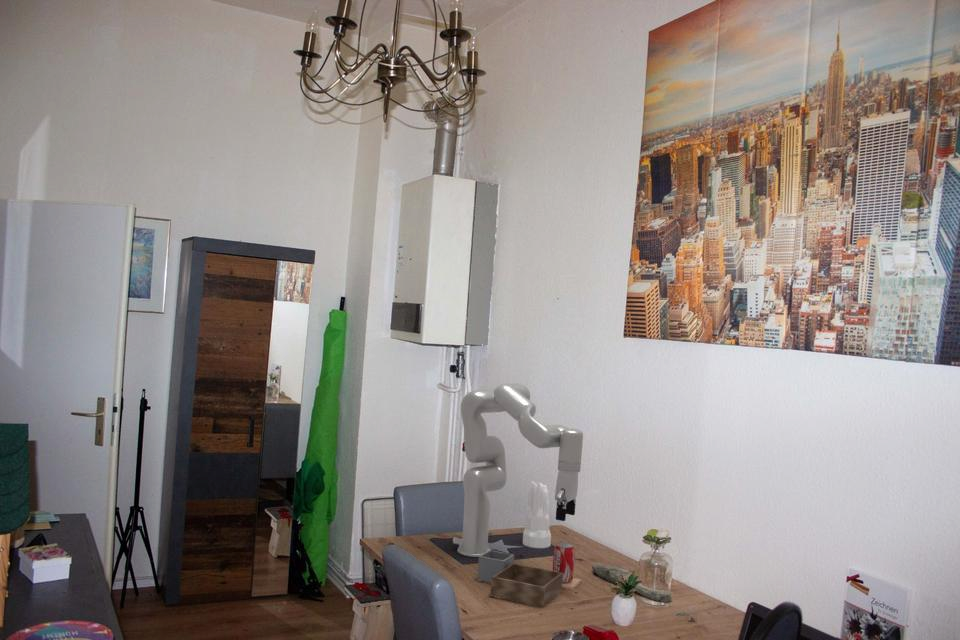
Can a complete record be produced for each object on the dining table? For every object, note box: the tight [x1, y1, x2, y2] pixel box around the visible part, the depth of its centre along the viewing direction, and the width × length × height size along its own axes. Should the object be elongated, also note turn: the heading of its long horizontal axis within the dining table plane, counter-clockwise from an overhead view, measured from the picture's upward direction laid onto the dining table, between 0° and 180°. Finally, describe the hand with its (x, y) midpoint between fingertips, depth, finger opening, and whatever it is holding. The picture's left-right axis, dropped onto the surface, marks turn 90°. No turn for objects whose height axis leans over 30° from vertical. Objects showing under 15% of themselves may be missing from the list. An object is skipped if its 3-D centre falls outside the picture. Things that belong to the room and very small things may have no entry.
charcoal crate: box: [477, 549, 515, 584], centre depth 267 cm, size 9×9×8 cm
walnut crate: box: [490, 562, 563, 608], centre depth 254 cm, size 17×17×6 cm
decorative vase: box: [522, 480, 552, 549], centre depth 313 cm, size 11×11×25 cm
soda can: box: [552, 541, 576, 583], centre depth 268 cm, size 7×7×12 cm
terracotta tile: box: [562, 577, 582, 591], centre depth 267 cm, size 10×10×1 cm
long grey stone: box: [591, 562, 672, 603], centre depth 269 cm, size 35×5×10 cm
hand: (565, 517), depth 268 cm, fingers open, 9 cm apart
